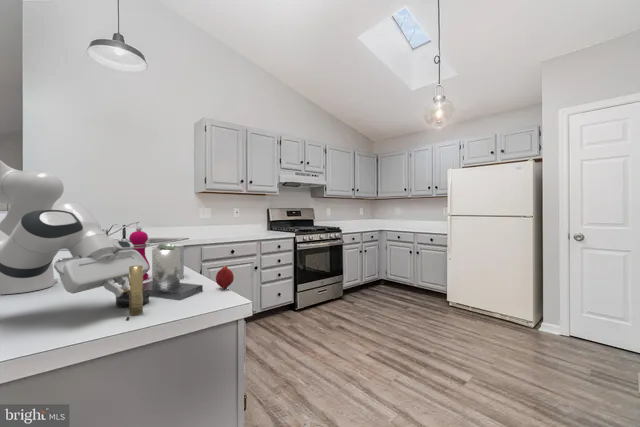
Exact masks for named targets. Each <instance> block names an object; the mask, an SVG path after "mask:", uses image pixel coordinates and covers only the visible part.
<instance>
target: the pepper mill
mask: <svg viewBox="0 0 640 427" xmlns="http://www.w3.org/2000/svg"><path fill="white" fill-rule="evenodd" d="M128 238H129V239H128V240H129V242H131V243H132V244H133V245H134V247H133V249H134V250H136V251H138V252H139V253H140V254H141V255H142V257H143V258H144V259H145V261H146V262H147V263H148V265H149V269H148V271H147V272H146V273H145V274H144V275H143V282H145V281H147V280H149V273H148V272H149V271H150V270H151V266H150V262H149V260H148V258H147V256H146V248H147V243H146V242H147V241H148V240H149V235H148V234H147V232H145V231H142V227H140V226H137V227H136V228H135V231H133V232H132V233H130V235H129V236H128Z"/></svg>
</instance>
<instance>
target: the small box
mask: <svg viewBox="0 0 640 427" xmlns="http://www.w3.org/2000/svg"><path fill="white" fill-rule="evenodd" d="M170 245H175V248H180V280H182V278H183V279H184V277H185V275H184V274H185V273H184V270H185V267H184V265H185V263H184V260H185V258H184V256H185V255H184V249H185V248H184V244H180V243H175V244H174V243H172V244H170ZM158 246H159V244H158V245H156V249H158Z"/></svg>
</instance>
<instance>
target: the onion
mask: <svg viewBox="0 0 640 427" xmlns="http://www.w3.org/2000/svg"><path fill="white" fill-rule="evenodd" d="M234 277H235V276H234V273H233V271H232V270H231V269H230V268H228V265H226V264H225V265H223V266H222V267H221V269H220V270H219V271H217V273H216V275H215V282H216V283H217V285H218V286H219V287H221V288H222V289H225V288H226V289H227V288H228V287H229V286H230V285H231V284H232V283H233V282H234ZM223 287H224V288H223Z"/></svg>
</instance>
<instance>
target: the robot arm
mask: <svg viewBox="0 0 640 427" xmlns="http://www.w3.org/2000/svg"><path fill="white" fill-rule="evenodd" d="M62 181H63V180H61V179H60V178H59V177H58V176H57V175H55V174H53V173H49V172H46V171H42V170H18V169H16V168H13V167H11V166H9V165H7V164H6V163H5V162H3V161H2V160H1V159H0V203H1V204H6V205H10V206H9V208H8V211H7V213H6V215H5V216H4V218H3V219H2V220H1V221H0V296H1V295H13V294H22V293H23V294H24V293H28V292H35V291H38V290H44V289H47V288H48V289H49V288H50V287H52V286H54V284H56V283H59V281H58V278H55V274H54V269H55V271H56V273H58V274H59V278H60V279H59V280H60V281H61V284H62V286H63V287H64V289H65V291H66V292H67V293H69V294H76V293H81V292H85V291H88V290H93V289H94V290H95V289H97V288H101V287H103V288H104V289H105V290H107V291H109V292H110V293H113V294H114V296H115V298H116V297H120V296H123V295H127V294H129V267H130V266H136V265H142V266H143V275H144V274H145V273H146V272H147V271H148V269H149V265H150V264H149V265H148V263H147V262H146V261H145V259H144V258H143V257H142V255H141V254H140V253H139V252H138V251H136V250H134V249H133V247H134V245H133V244H132V243H131V242H130V241H126V240H119V239H115V238H110V237H109V236H108V235H107V234H106V233H105V232H104V231H103V230H102V227H101V225H100V223H99V222H98V220H97V219H96V218H95V216H93V214H92V212H90V211H89V210H88V209H87V208H85V207H84V206H83V205H81V204H79V203H75V202H63V203H60V204H57V205H55V203H56V202H57V201H58V200H59V199H60V198H62V196H63V193H64V190H65V189H64V188H65V187H64V183H63V182H62ZM54 205H55V206H54ZM65 249H66V250H68V251H69V253H70V255H71V257H70V256H69V257H63V258H61V257H60V258H59V259H57V260H56V261H55V262H54V263H53V260H54V259H55V256H57V254H58V253H59V252H60V250H65ZM149 270H150V269H149ZM148 272H149V271H148ZM148 272H147V273H148ZM116 283H117V284H118V285H117V284H116Z"/></svg>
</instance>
